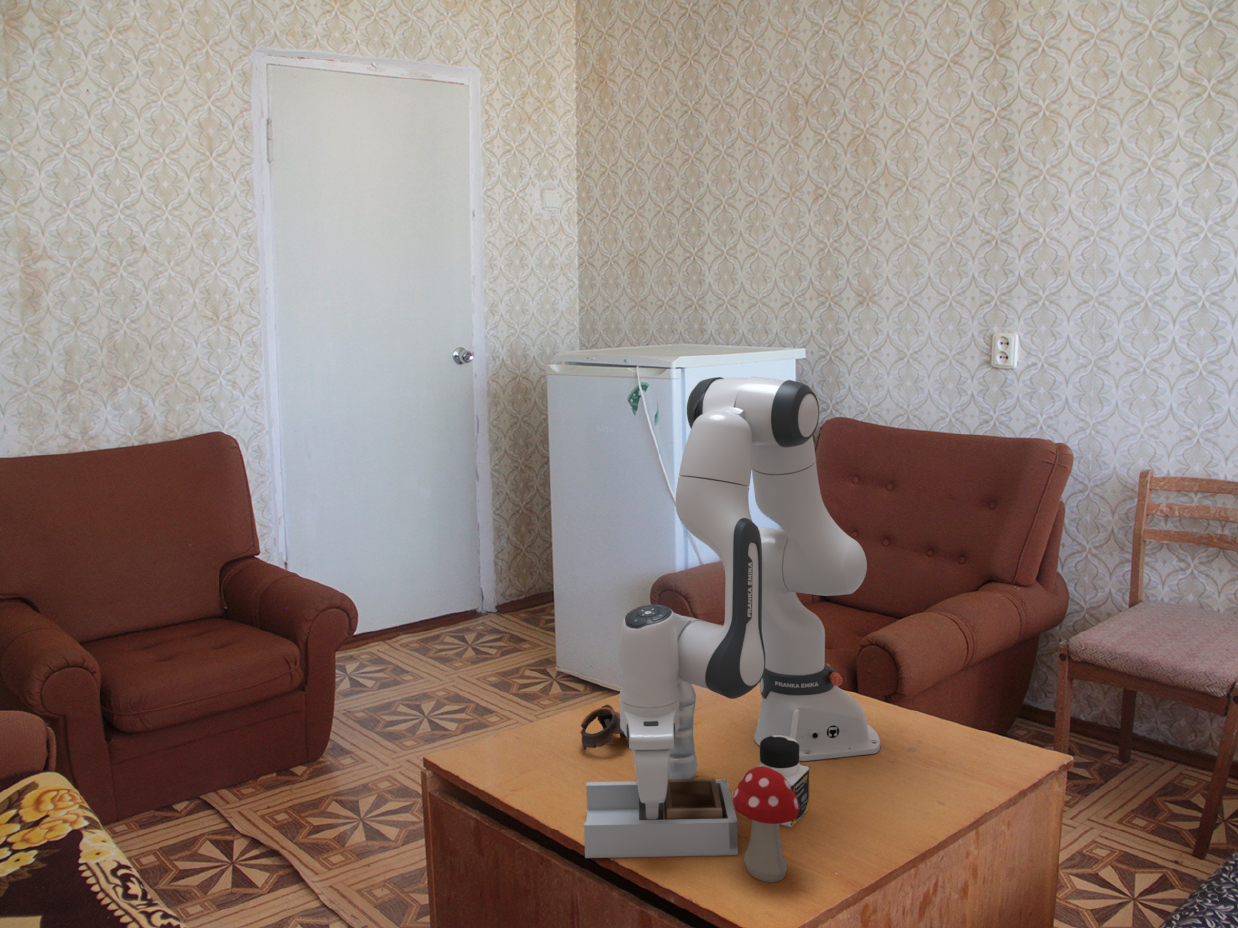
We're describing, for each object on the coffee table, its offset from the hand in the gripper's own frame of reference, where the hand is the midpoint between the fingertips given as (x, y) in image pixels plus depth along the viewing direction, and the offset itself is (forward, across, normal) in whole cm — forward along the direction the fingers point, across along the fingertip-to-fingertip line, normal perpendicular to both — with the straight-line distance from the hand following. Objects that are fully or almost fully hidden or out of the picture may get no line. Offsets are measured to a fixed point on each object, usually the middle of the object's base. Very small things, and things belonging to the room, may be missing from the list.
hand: (650, 803), depth 156 cm
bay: (+5, 0, +1) cm, 5 cm away
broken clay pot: (+5, -33, -6) cm, 34 cm away
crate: (+3, 0, +4) cm, 5 cm away
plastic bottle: (+5, -18, +5) cm, 20 cm away
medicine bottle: (+5, -6, +20) cm, 22 cm away
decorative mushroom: (+5, +12, +16) cm, 20 cm away
